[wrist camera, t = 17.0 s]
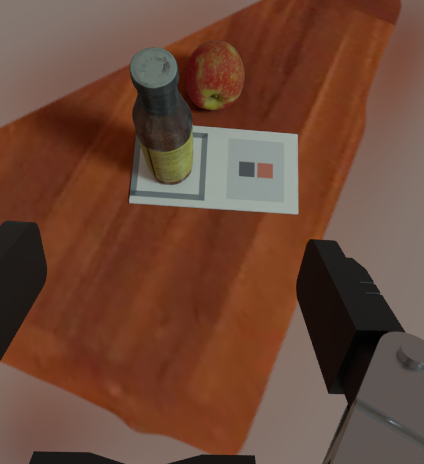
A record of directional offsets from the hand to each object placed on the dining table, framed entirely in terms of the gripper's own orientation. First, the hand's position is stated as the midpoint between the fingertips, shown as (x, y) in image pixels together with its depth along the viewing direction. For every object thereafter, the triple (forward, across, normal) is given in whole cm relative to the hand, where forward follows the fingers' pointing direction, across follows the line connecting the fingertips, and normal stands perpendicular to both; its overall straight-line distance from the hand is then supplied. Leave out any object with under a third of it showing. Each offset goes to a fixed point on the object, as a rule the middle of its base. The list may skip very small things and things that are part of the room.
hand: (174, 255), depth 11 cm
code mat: (+37, -4, +12) cm, 39 cm away
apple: (+46, -2, +4) cm, 46 cm away
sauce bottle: (+37, +3, +12) cm, 39 cm away
